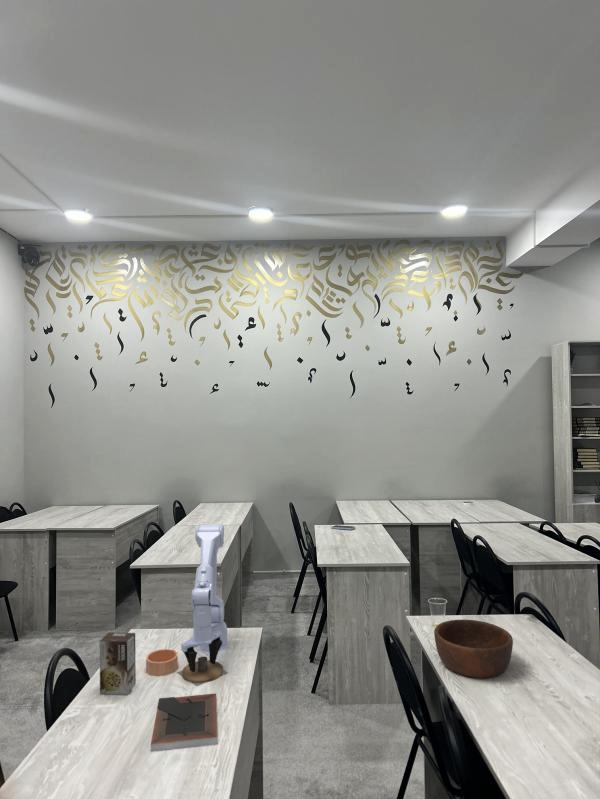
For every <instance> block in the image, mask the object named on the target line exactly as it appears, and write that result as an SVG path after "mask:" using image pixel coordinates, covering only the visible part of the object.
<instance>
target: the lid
mask: <svg viewBox="0 0 600 799" xmlns="http://www.w3.org/2000/svg"><path fill="white" fill-rule="evenodd" d="M223 670H224V668H223V665H222V664H221V663H220V662H218V661H216V662H215V664H212V663H210V659H209V660H208V657H207V656H199V657H198V658H197V660H196V661H195V672H192V671H190V668H189V664H186V665H185V666H184V667H183V668H182V670H181V671H182V676H181V677H182V678H183V680H185V681H186V682H189V683H191V682H194V683H203V682H206V683H208V682H213V681H214V680H217V679H218V678H220V677H222V676H221V675H222V673H223ZM203 684H204V683H203Z"/></svg>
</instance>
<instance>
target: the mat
mask: <svg viewBox="0 0 600 799" xmlns="http://www.w3.org/2000/svg"><path fill="white" fill-rule="evenodd" d="M176 674H178V675H179V676H181V677H182V670H180V671H179V670H178V671H177V672H176ZM227 674H229V672H228V671H226V670H225V669H223V673H222V675H221V676H220V677H222V676H224V675H227ZM190 683H192V684H193V685H194V686H195V687H198V686H200V685H203V684H205V683H207V682H203V683H194V682H190Z"/></svg>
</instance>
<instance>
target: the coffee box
mask: <svg viewBox="0 0 600 799" xmlns="http://www.w3.org/2000/svg"><path fill="white" fill-rule="evenodd" d="M98 643H99V694H100V695H121V696H122V695H124V696H125V695H126V696H128V695H129V694H130V693H131V692H132V689H133V688H134V687H135V686H136V684H137V683H136V681H137V679H136V675H137V674H136V671H137V670H136V668H137V667H136V666H137V665H136V633H135V632H107V633H106V634H105V636H103V637H102V638H101V639H100V640H99V641H98Z"/></svg>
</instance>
